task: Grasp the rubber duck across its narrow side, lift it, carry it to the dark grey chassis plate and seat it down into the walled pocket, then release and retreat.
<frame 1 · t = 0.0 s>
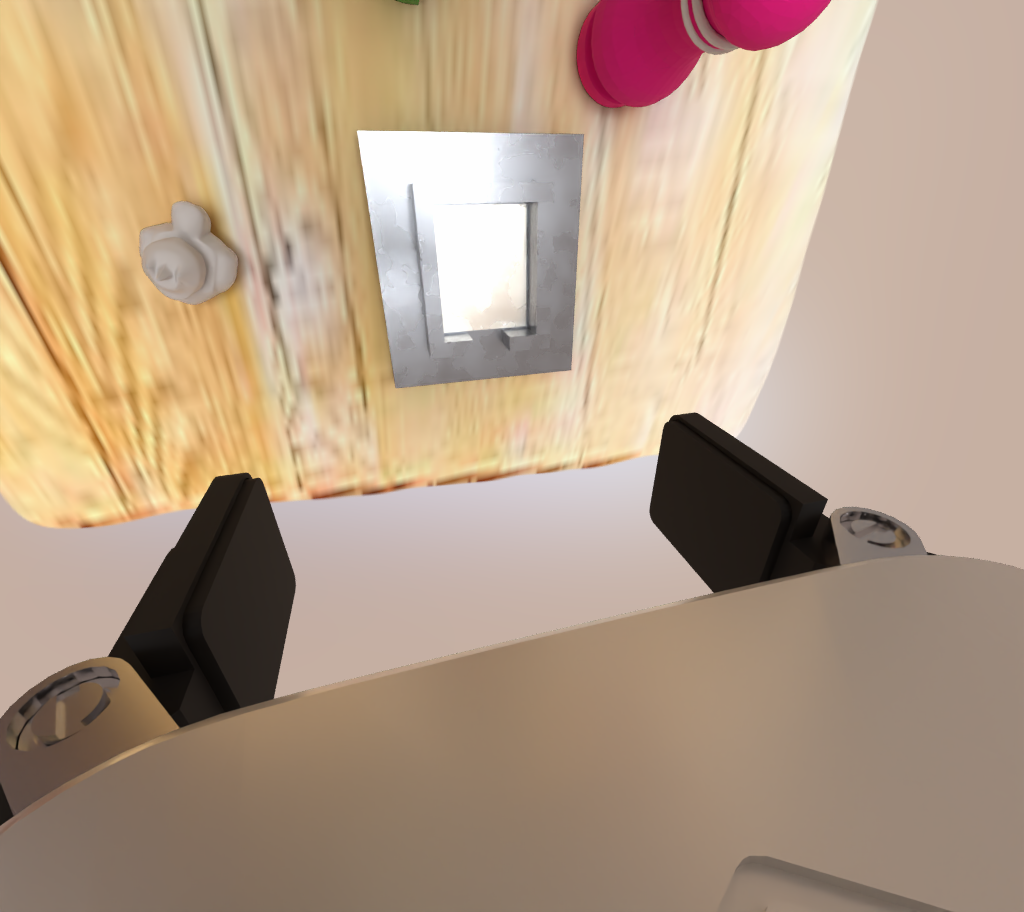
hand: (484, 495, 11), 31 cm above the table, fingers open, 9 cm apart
pepper mill: (614, 55, 33), on the table
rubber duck: (202, 250, 33), on the table
chassis plate: (477, 267, 38), on the table
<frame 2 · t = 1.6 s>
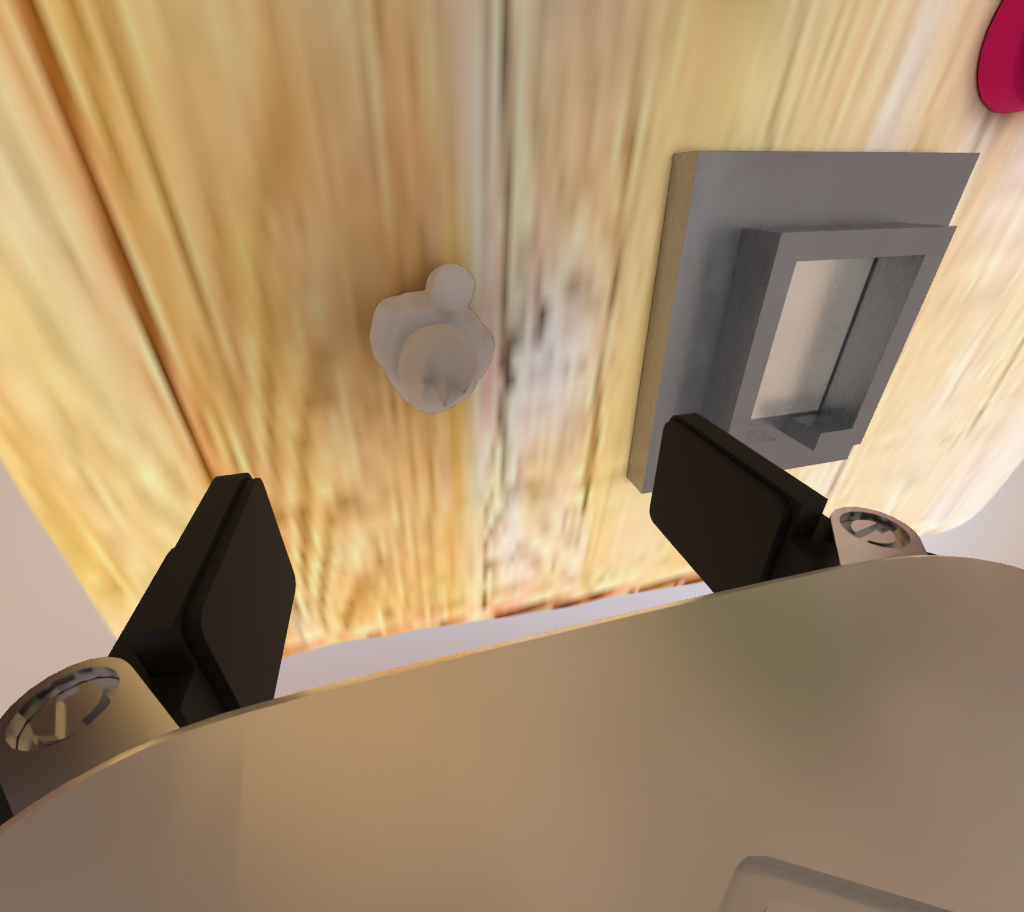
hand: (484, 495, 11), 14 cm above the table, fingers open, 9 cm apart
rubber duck: (429, 323, 22), on the table
chassis plate: (766, 333, 27), on the table
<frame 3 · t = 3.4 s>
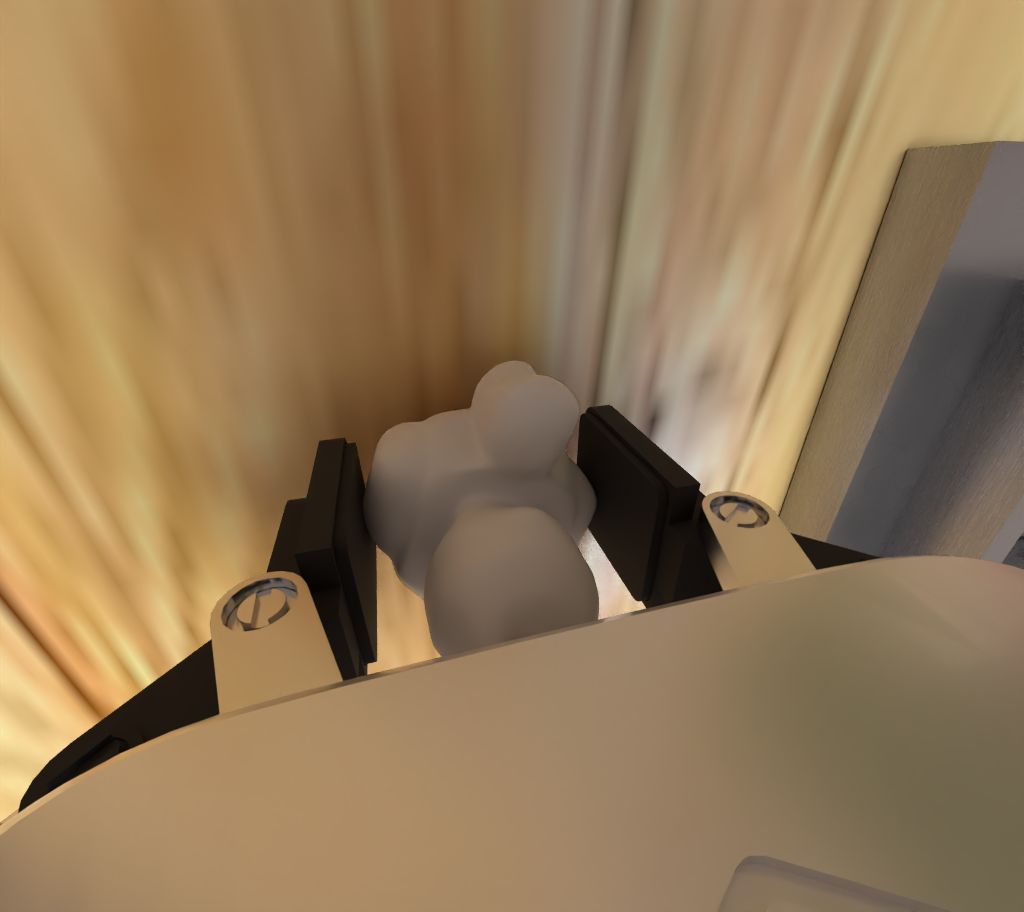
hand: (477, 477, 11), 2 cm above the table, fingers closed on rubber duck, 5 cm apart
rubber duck: (467, 444, 13), on the table, touching gripper
chassis plate: (968, 424, 18), on the table
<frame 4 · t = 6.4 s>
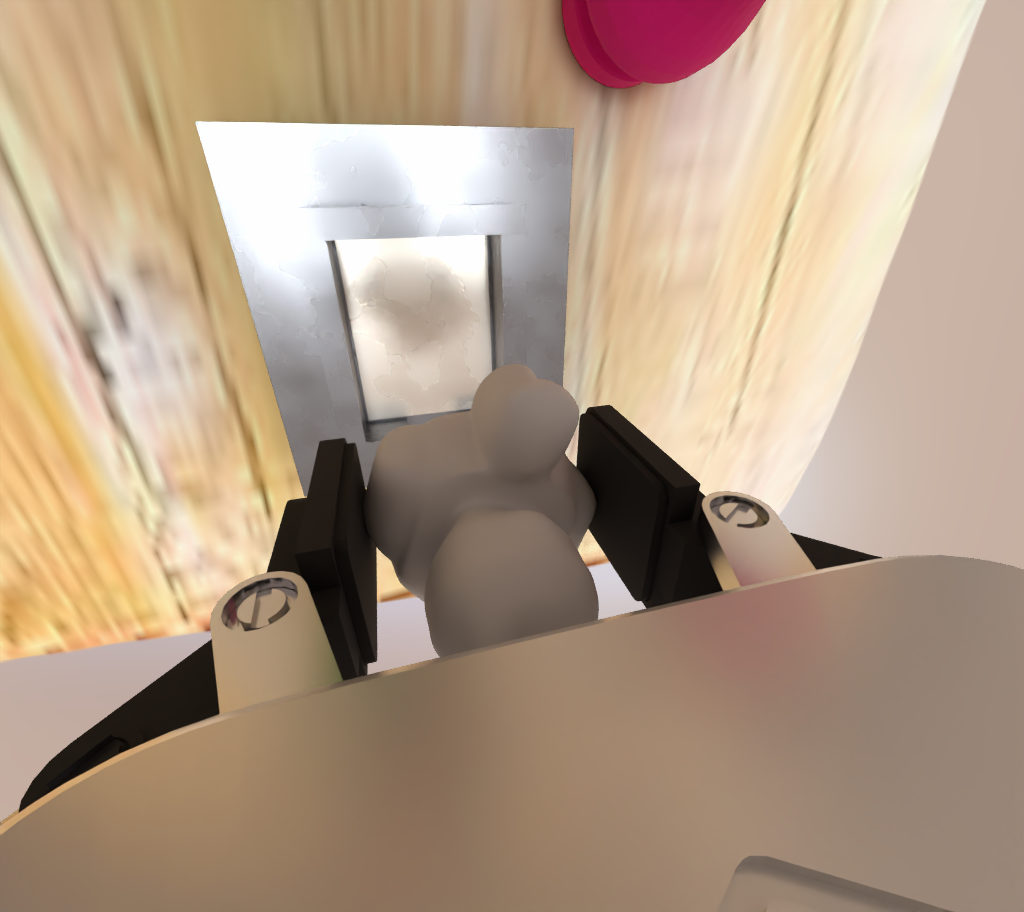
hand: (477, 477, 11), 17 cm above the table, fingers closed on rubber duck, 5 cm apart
pepper mill: (621, 6, 21), on the table
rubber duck: (468, 447, 13), point 15 cm above the table, touching gripper
chassis plate: (420, 324, 26), on the table
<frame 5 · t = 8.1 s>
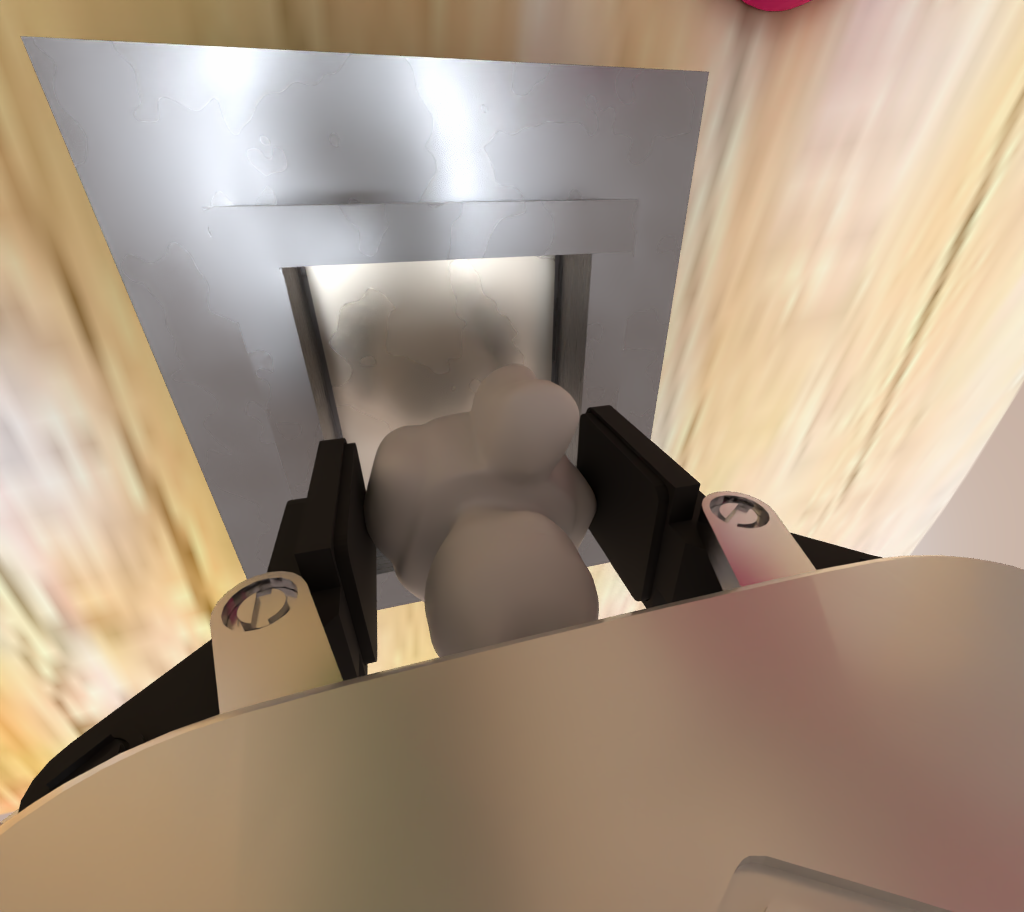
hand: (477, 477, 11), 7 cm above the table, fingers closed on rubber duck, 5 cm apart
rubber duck: (468, 447, 13), point 5 cm above the table, touching gripper
chassis plate: (442, 382, 17), on the table
when the fingers open (5 cm above the table, at t = 9.4 s): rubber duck drops 1 cm, resting on chassis plate.
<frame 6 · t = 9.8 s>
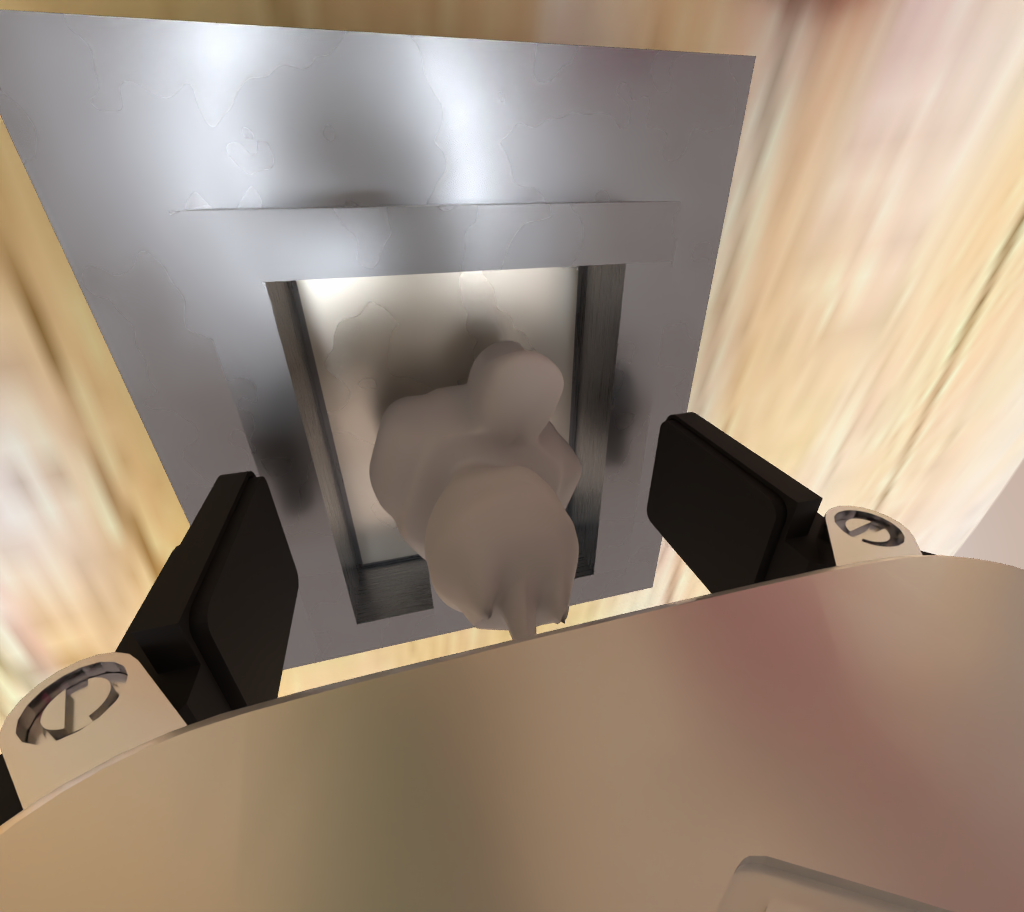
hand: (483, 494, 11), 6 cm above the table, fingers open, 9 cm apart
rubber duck: (464, 422, 14), point 2 cm above the table, touching chassis plate
chassis plate: (449, 402, 16), on the table
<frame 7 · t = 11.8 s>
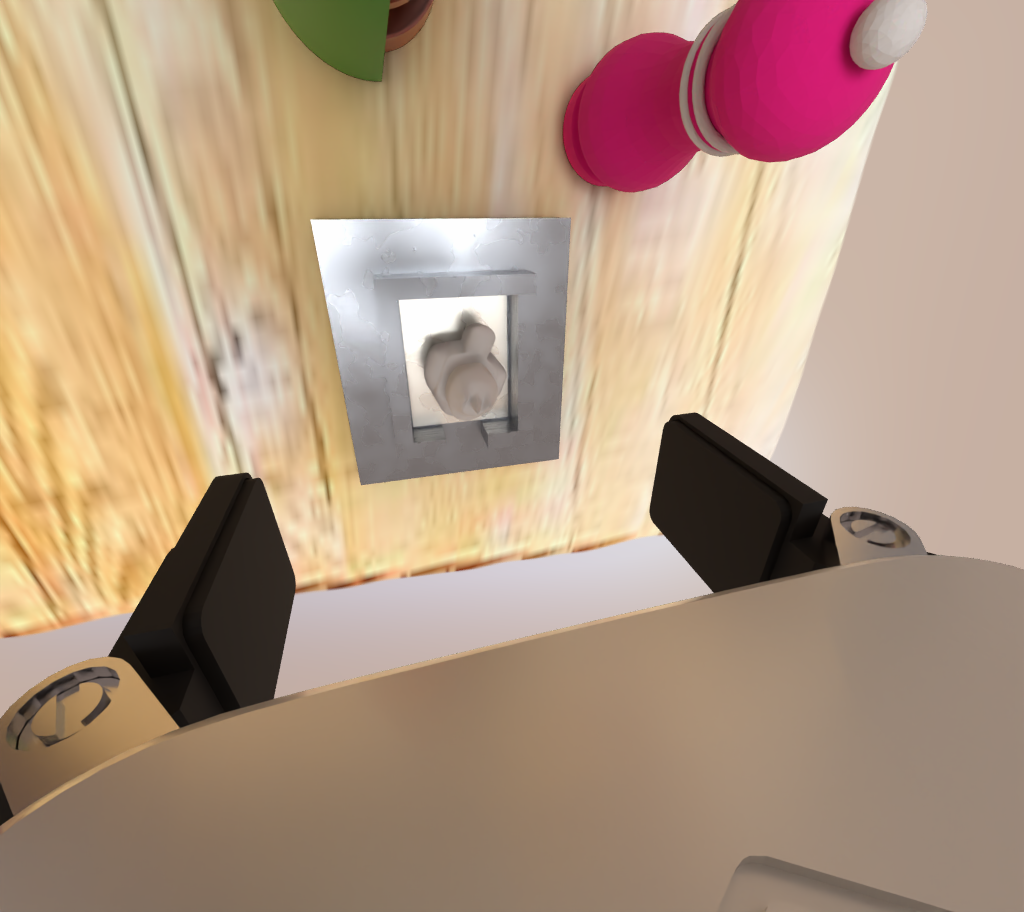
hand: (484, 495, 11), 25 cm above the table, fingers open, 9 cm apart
pepper mill: (605, 131, 30), on the table
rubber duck: (460, 359, 32), point 2 cm above the table, touching chassis plate
chassis plate: (453, 354, 34), on the table
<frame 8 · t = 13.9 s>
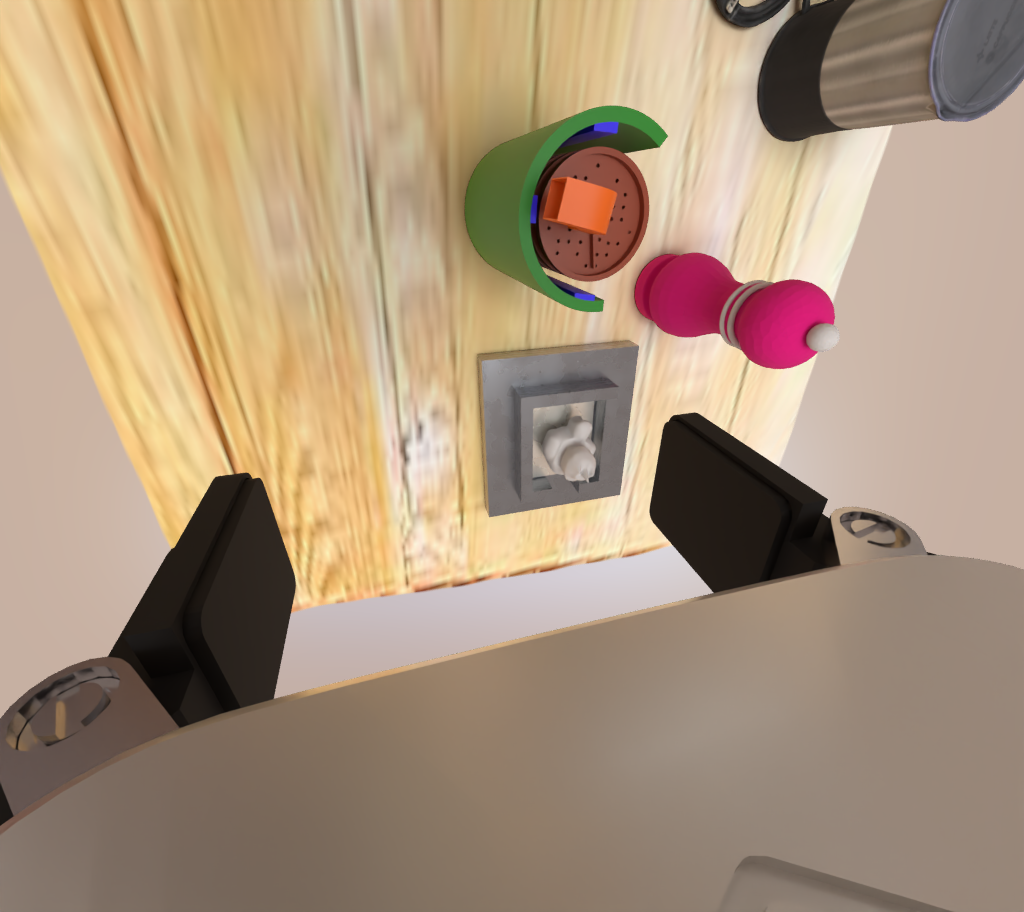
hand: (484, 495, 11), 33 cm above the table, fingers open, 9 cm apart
milk frother: (778, 37, 37), on the table
pepper mill: (661, 287, 45), on the table
green round disc holder: (515, 211, 39), on the table
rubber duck: (561, 435, 48), point 2 cm above the table, touching chassis plate
chassis plate: (553, 428, 50), on the table
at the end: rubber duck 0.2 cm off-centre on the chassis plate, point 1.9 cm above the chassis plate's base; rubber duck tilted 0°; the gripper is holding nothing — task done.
